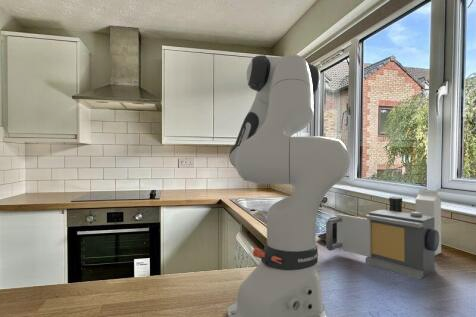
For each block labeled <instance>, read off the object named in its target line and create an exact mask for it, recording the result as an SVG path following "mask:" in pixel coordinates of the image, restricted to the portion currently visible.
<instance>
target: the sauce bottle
mask: <svg viewBox="0 0 476 317" xmlns="http://www.w3.org/2000/svg"><path fill="white" fill-rule="evenodd" d="M388 202H389V210H388V211H395V212H403V208H402V207H403V205H402V203H403V198H402V197H401V196H390V197H389V199H388Z"/></svg>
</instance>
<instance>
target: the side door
mask: <svg viewBox="0 0 476 317" xmlns="http://www.w3.org/2000/svg"><path fill="white" fill-rule="evenodd" d="M336 217H337V218H334V219H330V218H329V219H327V221H325V233H326V241H325V245H326V246H325V248H326V249H327V251H334V250H337V249H338V250H342V251H345V252H349V253H354V254H357V255H360V256H363V257H364V256H365V257H371V219H365V217H360V216H354V215H353V216H352V215H348V214H341V213H337V214H336ZM333 223H337V243H333V241H332V224H333Z"/></svg>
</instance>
